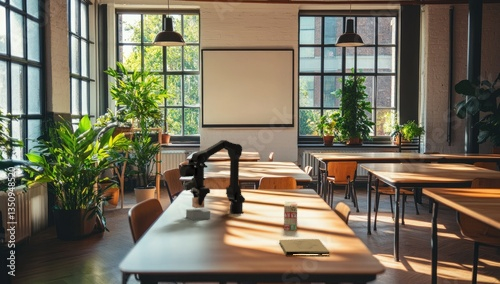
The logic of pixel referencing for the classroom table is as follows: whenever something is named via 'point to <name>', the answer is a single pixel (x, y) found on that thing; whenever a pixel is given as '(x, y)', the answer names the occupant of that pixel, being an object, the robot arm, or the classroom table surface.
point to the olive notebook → (303, 246)
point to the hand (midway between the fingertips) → (198, 204)
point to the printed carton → (290, 216)
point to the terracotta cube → (196, 203)
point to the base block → (198, 214)
